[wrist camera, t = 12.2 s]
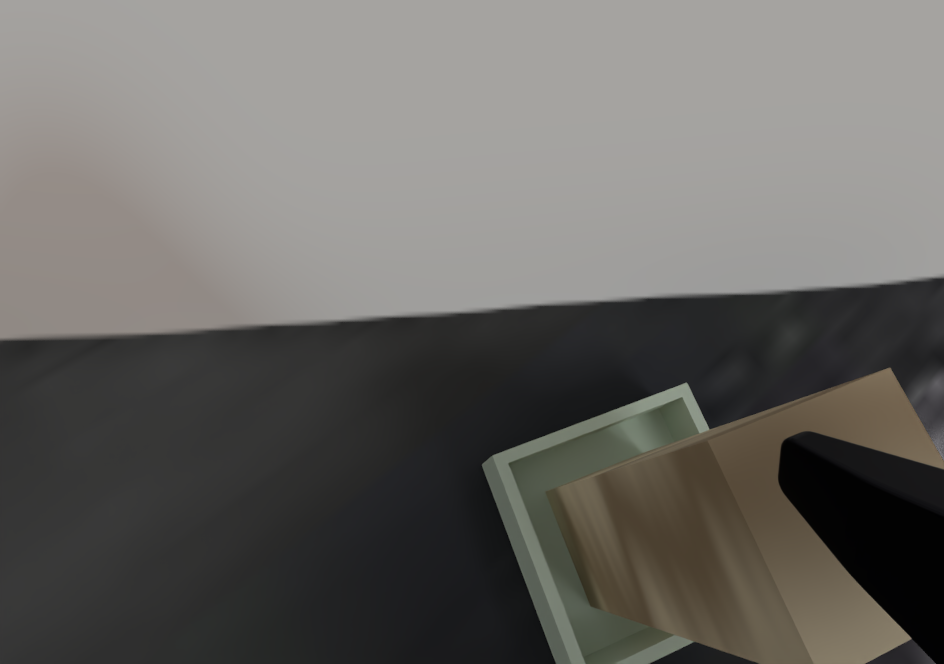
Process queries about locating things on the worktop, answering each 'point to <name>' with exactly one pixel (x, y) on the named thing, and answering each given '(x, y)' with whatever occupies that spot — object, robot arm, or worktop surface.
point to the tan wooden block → (738, 533)
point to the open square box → (541, 542)
